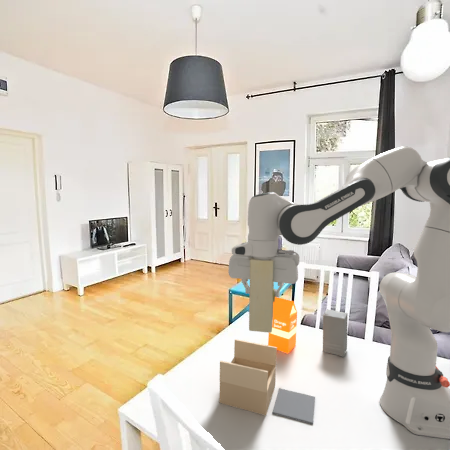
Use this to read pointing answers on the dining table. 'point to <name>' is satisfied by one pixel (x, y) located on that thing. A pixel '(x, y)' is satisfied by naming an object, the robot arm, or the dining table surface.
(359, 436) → the dining table surface
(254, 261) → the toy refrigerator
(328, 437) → the dining table surface
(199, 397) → the dining table surface
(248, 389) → the carton
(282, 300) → the orange juice
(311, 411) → the mat
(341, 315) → the skincare box
